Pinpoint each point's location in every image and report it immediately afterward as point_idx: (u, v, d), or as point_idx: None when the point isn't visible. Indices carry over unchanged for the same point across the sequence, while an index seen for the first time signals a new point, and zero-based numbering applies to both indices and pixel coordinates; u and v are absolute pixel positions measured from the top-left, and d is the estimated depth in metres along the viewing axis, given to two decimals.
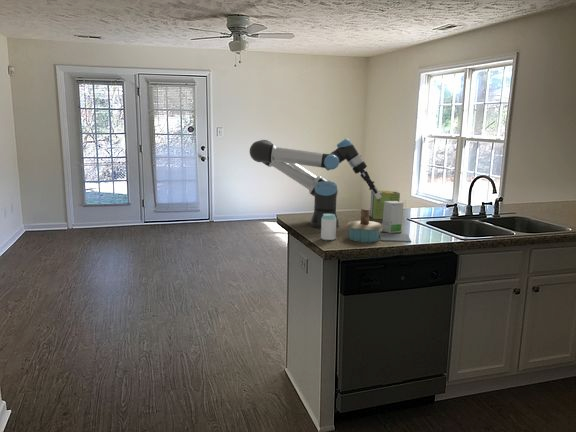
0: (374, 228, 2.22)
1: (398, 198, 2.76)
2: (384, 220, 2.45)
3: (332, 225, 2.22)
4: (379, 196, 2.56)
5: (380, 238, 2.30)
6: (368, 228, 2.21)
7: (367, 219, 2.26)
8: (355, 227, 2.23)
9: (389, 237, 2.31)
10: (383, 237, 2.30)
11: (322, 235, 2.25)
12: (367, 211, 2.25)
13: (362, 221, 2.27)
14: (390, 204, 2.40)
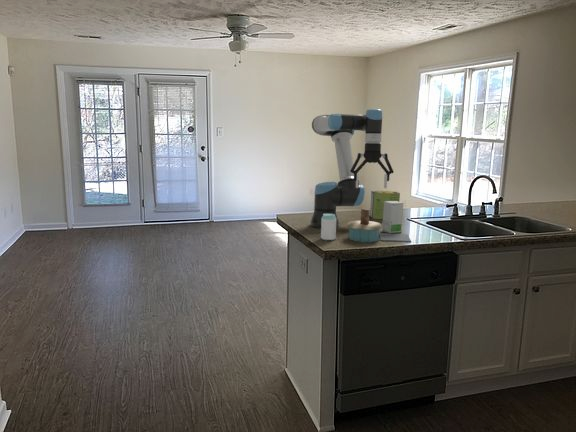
0: (374, 228, 2.22)
1: (398, 198, 2.76)
2: (384, 220, 2.45)
3: (332, 225, 2.22)
4: (356, 186, 2.27)
5: (380, 238, 2.30)
6: (368, 228, 2.21)
7: (367, 219, 2.26)
8: (355, 227, 2.23)
9: (389, 237, 2.31)
10: (383, 237, 2.30)
11: (322, 235, 2.25)
12: (367, 211, 2.25)
13: (362, 221, 2.27)
14: (390, 204, 2.40)
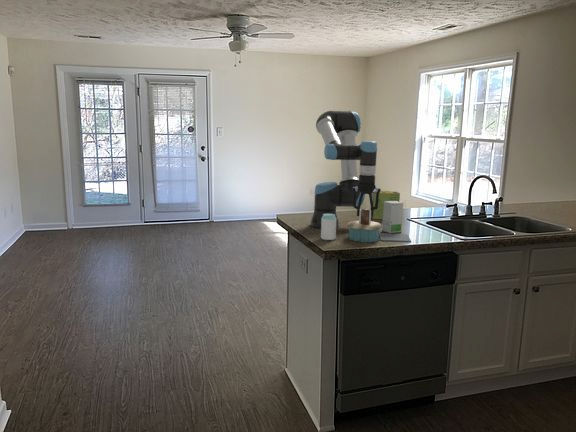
0: (374, 228, 2.22)
1: (398, 198, 2.76)
2: (384, 220, 2.45)
3: (332, 225, 2.22)
4: (359, 221, 2.28)
5: (380, 238, 2.30)
6: (368, 228, 2.21)
7: (367, 219, 2.26)
8: (355, 227, 2.23)
9: (389, 237, 2.31)
10: (383, 237, 2.30)
11: (322, 235, 2.25)
12: (367, 211, 2.25)
13: (362, 221, 2.27)
14: (390, 204, 2.40)
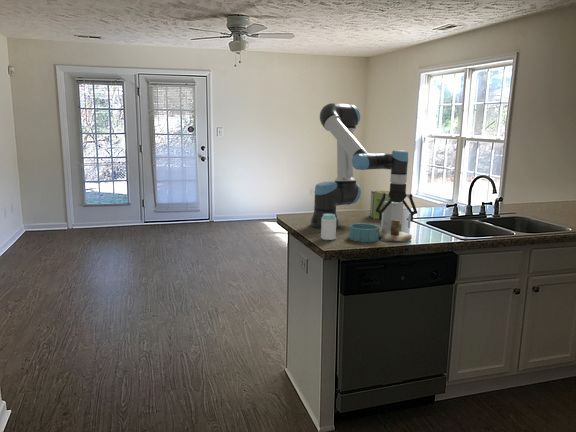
0: (405, 239, 2.25)
1: None
2: (384, 220, 2.45)
3: (332, 225, 2.22)
4: (381, 225, 2.31)
5: (380, 238, 2.30)
6: (399, 239, 2.24)
7: (397, 230, 2.30)
8: (386, 238, 2.26)
9: None
10: None
11: (322, 235, 2.25)
12: (398, 222, 2.29)
13: (392, 232, 2.30)
14: (390, 204, 2.40)
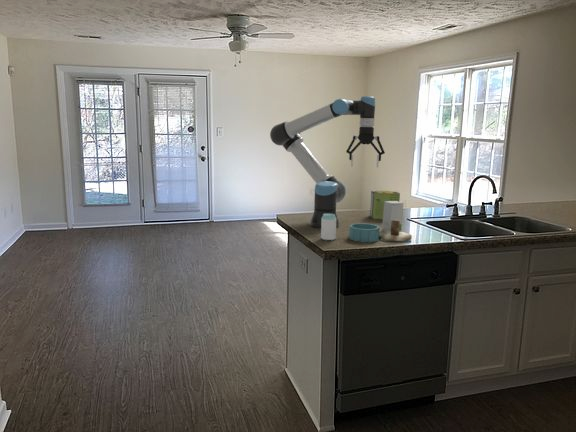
0: (405, 239, 2.25)
1: (398, 198, 2.76)
2: (384, 220, 2.45)
3: (332, 225, 2.22)
4: (351, 164, 2.56)
5: (380, 238, 2.30)
6: (399, 239, 2.24)
7: (397, 230, 2.30)
8: (386, 238, 2.26)
9: None
10: None
11: (322, 235, 2.25)
12: (398, 222, 2.29)
13: (392, 232, 2.30)
14: (390, 204, 2.40)
